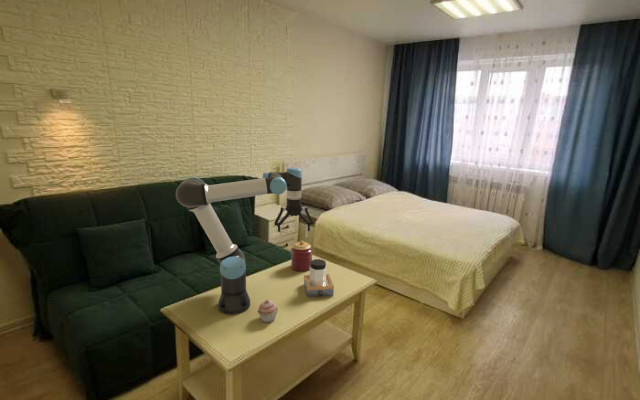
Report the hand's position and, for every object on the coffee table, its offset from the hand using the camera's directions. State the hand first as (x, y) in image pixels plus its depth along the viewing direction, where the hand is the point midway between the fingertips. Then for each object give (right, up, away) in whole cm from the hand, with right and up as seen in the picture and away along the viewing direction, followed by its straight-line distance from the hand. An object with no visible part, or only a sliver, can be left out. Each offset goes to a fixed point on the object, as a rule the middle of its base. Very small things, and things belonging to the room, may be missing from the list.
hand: (293, 237), depth 175 cm
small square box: (+13, -29, +4) cm, 32 cm away
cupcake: (-10, -35, -23) cm, 43 cm away
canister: (+2, -22, +31) cm, 38 cm away
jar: (+13, -25, +3) cm, 28 cm away
